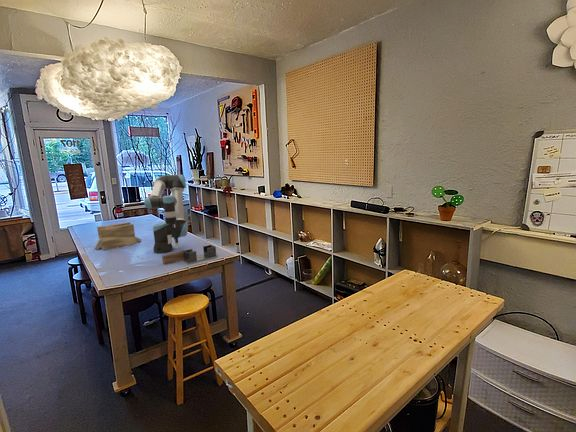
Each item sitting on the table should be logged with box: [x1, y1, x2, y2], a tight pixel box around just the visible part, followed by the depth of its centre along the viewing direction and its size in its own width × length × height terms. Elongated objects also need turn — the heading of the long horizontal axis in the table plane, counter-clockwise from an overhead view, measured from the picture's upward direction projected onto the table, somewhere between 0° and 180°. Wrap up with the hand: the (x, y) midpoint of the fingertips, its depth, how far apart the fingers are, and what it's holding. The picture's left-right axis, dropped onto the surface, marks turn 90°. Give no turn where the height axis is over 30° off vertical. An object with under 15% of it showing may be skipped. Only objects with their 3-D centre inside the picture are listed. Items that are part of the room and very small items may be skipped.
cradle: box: [96, 221, 137, 251], centre depth 272 cm, size 14×26×18 cm, turn 130°
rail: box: [161, 250, 184, 265], centre depth 228 cm, size 4×17×6 cm, turn 130°
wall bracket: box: [93, 224, 142, 251], centre depth 273 cm, size 22×4×30 cm
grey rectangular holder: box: [182, 244, 218, 265], centre depth 231 cm, size 10×23×8 cm, turn 130°
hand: (173, 245), depth 226 cm, fingers open, 13 cm apart
